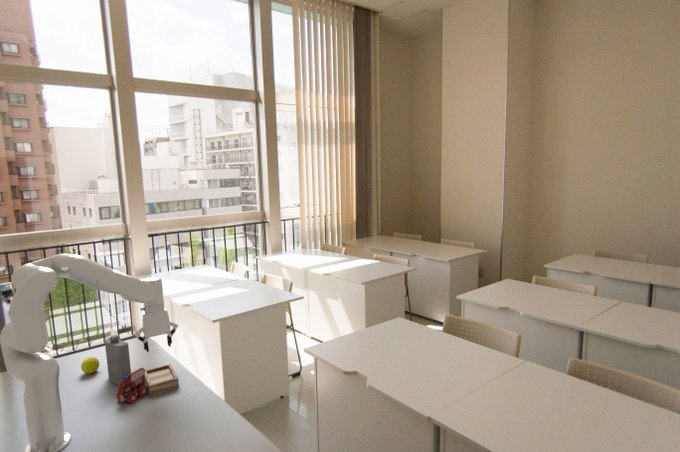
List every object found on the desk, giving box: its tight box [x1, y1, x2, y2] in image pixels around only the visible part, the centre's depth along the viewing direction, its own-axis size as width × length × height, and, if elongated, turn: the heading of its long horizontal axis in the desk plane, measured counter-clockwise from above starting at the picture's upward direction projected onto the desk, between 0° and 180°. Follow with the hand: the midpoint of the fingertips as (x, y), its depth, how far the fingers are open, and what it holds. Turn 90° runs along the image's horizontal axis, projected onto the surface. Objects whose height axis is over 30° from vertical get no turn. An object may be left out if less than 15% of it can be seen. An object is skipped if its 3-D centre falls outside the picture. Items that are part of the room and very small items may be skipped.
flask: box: [104, 334, 132, 386], centre depth 181 cm, size 15×6×20 cm, turn 50°
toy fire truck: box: [116, 367, 149, 404], centre depth 166 cm, size 7×12×10 cm, turn 157°
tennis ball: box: [80, 356, 100, 375], centre depth 190 cm, size 7×7×7 cm
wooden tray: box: [144, 363, 180, 397], centre depth 177 cm, size 16×11×4 cm
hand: (158, 347), depth 175 cm, fingers open, 8 cm apart
